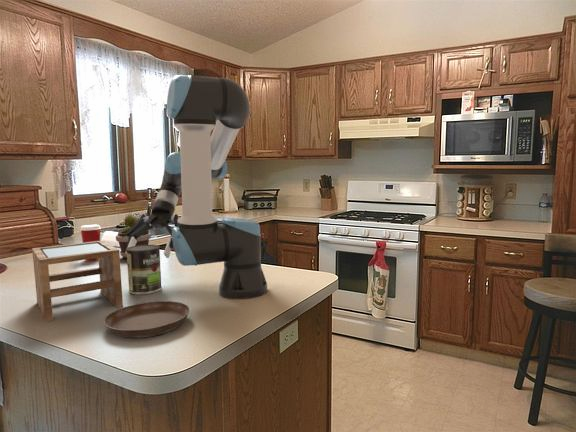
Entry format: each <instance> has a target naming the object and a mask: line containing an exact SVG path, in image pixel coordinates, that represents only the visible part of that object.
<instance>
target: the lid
mask: <svg viewBox="0 0 576 432" xmlns="http://www.w3.org/2000/svg"><path fill="white" fill-rule="evenodd" d="M105 250H107V249H105V248H104V247H102V246H101V245H99V244H98V243H95V244H87V245H78V246H69V247H60V248H52V249H43V250H42V252H43V253H44V255H45V256H46V257H47V258H50V257H58V256H65V255H73V254H81V253H89V252H97V251H105Z"/></svg>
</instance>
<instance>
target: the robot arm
mask: <svg viewBox="0 0 576 432" xmlns="http://www.w3.org/2000/svg"><path fill="white" fill-rule="evenodd" d="M169 83H170V84H169V85H168V86H169V87H168V91H167V99H166V110H167V111H166V114H167V118H169V119H171V120H172V119H173V126H174V128H176V129H177V130H178V132H179V149H180V150H179V152H178V151H177V152H172V153H171V152H170V154H169V155H168V156H167V157H166V159H165V163H164V169H163V176H162V182H161V184H160V187H159V190H158V192H157V195H156V197H155V200H154V202H153V203H154V204H153V205H152V208H151V212H150V213H151V214H150V215H149V216H148V215H145V214H144V213H143V214H141V215H140V217H139V218H138V220H137V221H136V223H135V224H134V225H133V226H132V227H131V228H130V229H129V230H128V231H127V232H126V233H125V235H126V236H127V238H128V239H129V240H128V242H127V246H128V247H132V246H135V245H136V242H137V241H136V239H137V238H138V237H140V236H141V235H143V234H144V233H145V232H147V231H149V230H152V229H158V228H159V229H163V228H166V230H167V232H168V233H169V235H170V236H171V237H170V236H169V237H168V239H167V242H166V246H165V249H164V251H163V255H164V256H165V258H166V259H169V258H170V256H171V255H170V254H171V251H172V249H173V250H174V253H175V257H176V259H177V261H178V263H179V264H180V265H181V266H184V267H188V266H199V265H200V266H201V265H206V264H215V263H223V271H222V274H221V278H220V283H219V286H218V290H219V295H220V296H221V297H222V296H223V297H225V298H229V299H238V300H239V299H253V298H256V297H259V296H263V295H265V294H266V293H267V292H268V282H267V279H266V277H265V274H264V271H263V268H262V247H261V246H262V245H261V241H262V239H261V237H262V235H261V226H260V224H259V222H257V221H256V220H251V219H245V218H235V217H234V218H233V217H231V218H230V217H225V218H223V219H222V220H221V223H218V218H217V217H216V216H215V215H214V214H213V195H212V194H213V192H212V189H213V188H212V187H213V186H212V179H214V180H217V179H223V178H225V177H226V175H227V171H228V163H227V161H226V160H227V157H228V155H229V152H230V150H231V149H232V146H233V144H234V142H235V140H236V138H237V136H238V133H239V131H240V129H243V128H244V127H245V126H246V124H247V123H248V120H249V117H250V113H251V105H250V104H251V103H250V100H249V97H248V95H247V93H246V91H245V90H244V89H243V87H242V86H241V85H240V84H239V83H237V82H236V81H235V80H232V79H230V78H226V77H213V76H202V75H196V74H195V75H194V74H193V75H192V74H189V75H188V74H185V75H184V74H183V75H180V74H178V75H175V76H173V78H172V79H171V81H170V82H169ZM180 195H181V204H182V205H181V210H182V214H181V216H180V217H179V215H178V214H176V213H175V210H176V208H177V204H178V201H179V198H180ZM174 213H175V214H174ZM170 222H173V224H174V227H170V225H169V224H170ZM128 247H127V248H128ZM125 253H126V254H127V252H125Z"/></svg>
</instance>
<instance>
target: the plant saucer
mask: <svg viewBox="0 0 576 432" xmlns="http://www.w3.org/2000/svg"><path fill="white" fill-rule="evenodd" d="M189 314H190V307H189V306H188V305H187V304H185V303H183V302H180V301H170V300H157V301H146V302H140V303H136V304H132V305H131V304H130V305H128V306H123V307H121V308H118V309H116V310H114V311H112V312H110V313H108V314H107V315H106V316H105V317H104V319H103V324H104V326H105V327H106V329H108V331H110V332H112V333H113V334H114V335H117V336H119V337H122V338H128V339H130V338H131V339H140V338H141V339H142V338H143V339H144V338H149V337H155V336H159V335H164V334H166V333H168V332H171V331H173V330H175V329H177V328H178V327H179V326H181V324H182V323H184V321H186V319H187V317H188V315H189Z"/></svg>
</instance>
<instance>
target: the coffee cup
mask: <svg viewBox="0 0 576 432" xmlns="http://www.w3.org/2000/svg"><path fill="white" fill-rule="evenodd" d="M101 229H102V228H101V225H99V224H85V225H81V226H80V229H79V231H80V233H81V234H80V235H81V240H82V243H85V242H94V241H101ZM84 261H86V262H97V261H98V258H94V259H87V260H84Z"/></svg>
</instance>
